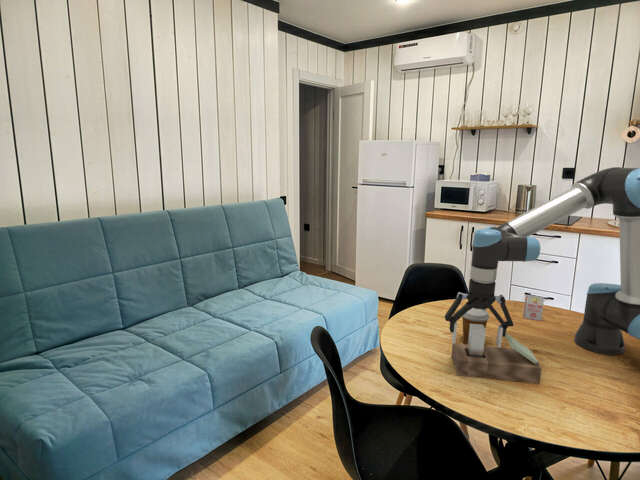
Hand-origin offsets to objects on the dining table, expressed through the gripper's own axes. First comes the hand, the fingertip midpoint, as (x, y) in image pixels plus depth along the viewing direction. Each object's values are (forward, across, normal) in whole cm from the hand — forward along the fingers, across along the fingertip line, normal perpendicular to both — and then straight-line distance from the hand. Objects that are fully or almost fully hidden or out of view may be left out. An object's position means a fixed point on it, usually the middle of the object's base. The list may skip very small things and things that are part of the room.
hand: (475, 343), depth 131 cm
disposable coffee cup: (+8, -3, -19) cm, 21 cm away
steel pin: (+8, 0, 0) cm, 8 cm away
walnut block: (+8, -6, 0) cm, 10 cm away
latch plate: (+1, -13, 0) cm, 14 cm away
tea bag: (+8, -32, -48) cm, 58 cm away
